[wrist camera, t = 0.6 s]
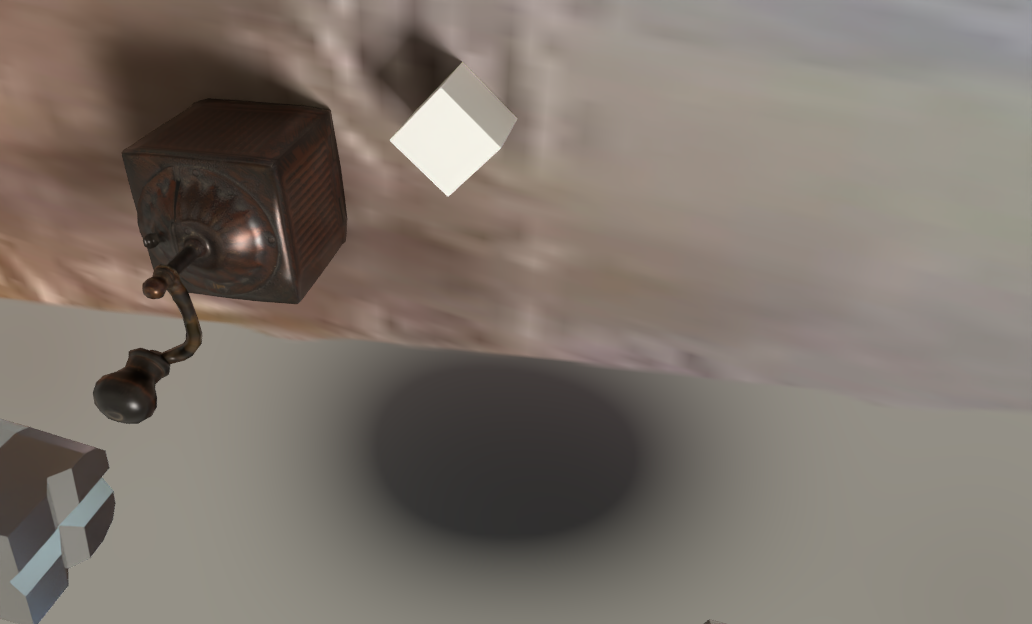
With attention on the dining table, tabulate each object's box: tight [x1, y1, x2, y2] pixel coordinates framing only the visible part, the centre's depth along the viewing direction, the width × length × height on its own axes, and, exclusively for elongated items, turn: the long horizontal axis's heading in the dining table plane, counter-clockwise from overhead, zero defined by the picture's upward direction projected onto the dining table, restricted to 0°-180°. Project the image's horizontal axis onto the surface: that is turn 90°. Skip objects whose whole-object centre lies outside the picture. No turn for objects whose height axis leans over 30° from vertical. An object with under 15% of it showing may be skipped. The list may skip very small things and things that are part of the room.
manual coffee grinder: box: [93, 99, 347, 424], centre depth 54 cm, size 16×11×18 cm
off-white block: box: [390, 62, 517, 196], centre depth 52 cm, size 5×5×5 cm
